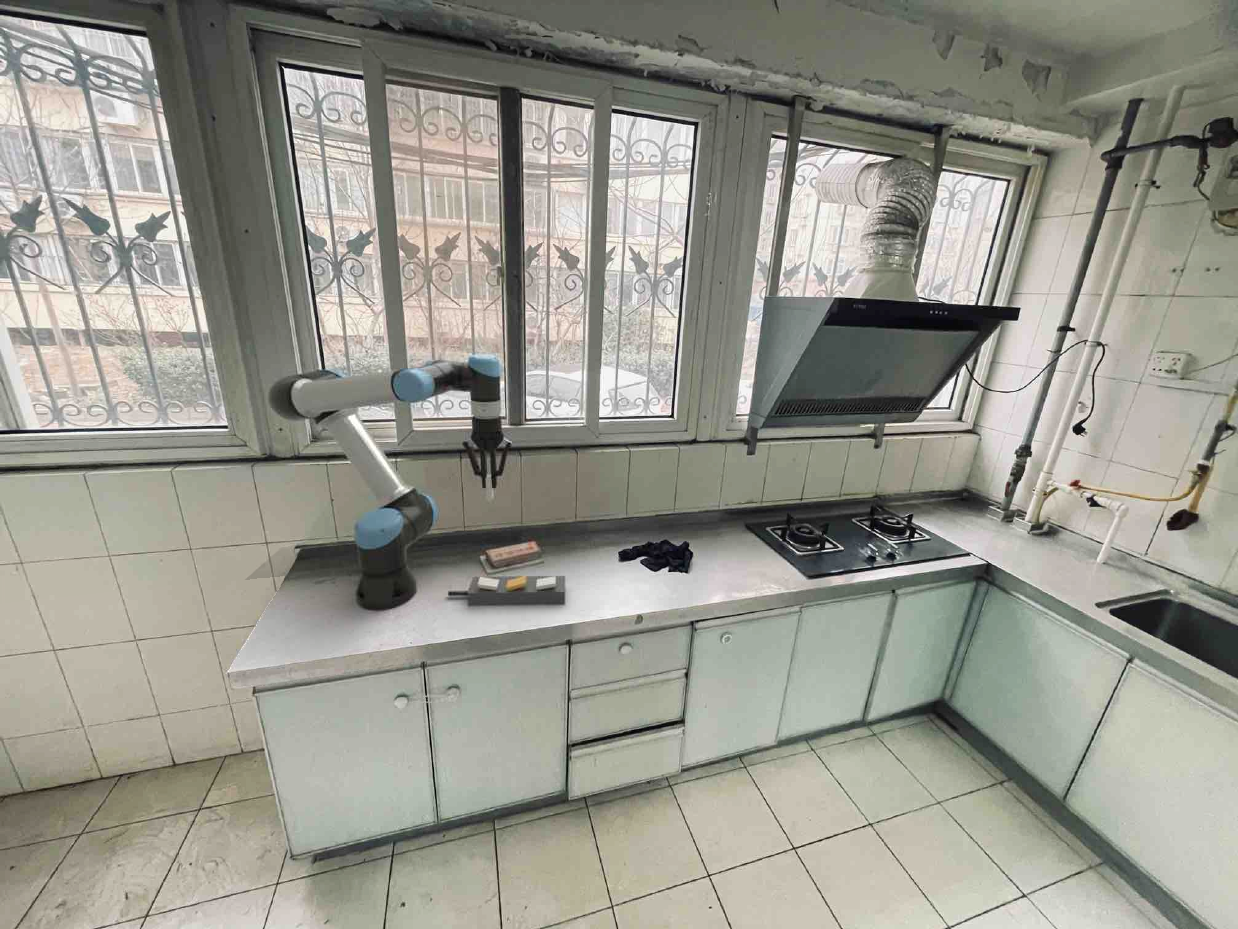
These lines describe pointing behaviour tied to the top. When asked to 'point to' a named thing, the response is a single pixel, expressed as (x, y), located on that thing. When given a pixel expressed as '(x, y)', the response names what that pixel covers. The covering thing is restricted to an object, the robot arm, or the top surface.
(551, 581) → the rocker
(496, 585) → the white box
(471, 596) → the power strip
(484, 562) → the packaged product
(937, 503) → the top surface
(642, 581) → the top surface
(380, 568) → the robot arm
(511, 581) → the yellow box
